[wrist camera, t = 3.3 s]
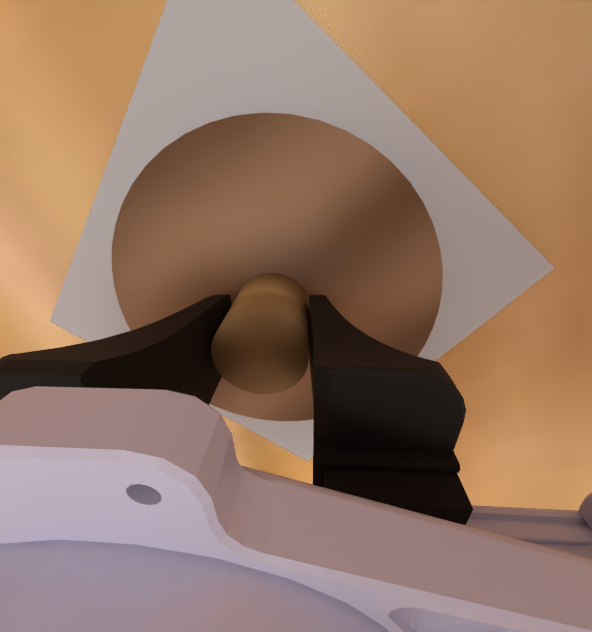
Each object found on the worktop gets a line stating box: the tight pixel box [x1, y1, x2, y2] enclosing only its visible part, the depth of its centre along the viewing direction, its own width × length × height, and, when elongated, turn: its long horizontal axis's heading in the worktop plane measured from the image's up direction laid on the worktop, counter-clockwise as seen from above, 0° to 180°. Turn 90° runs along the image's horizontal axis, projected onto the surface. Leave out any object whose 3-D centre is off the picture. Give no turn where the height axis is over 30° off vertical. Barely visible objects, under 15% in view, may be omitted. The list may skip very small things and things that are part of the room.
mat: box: [50, 0, 555, 461], centre depth 14 cm, size 17×17×1 cm
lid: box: [112, 113, 443, 421], centre depth 11 cm, size 14×14×4 cm
